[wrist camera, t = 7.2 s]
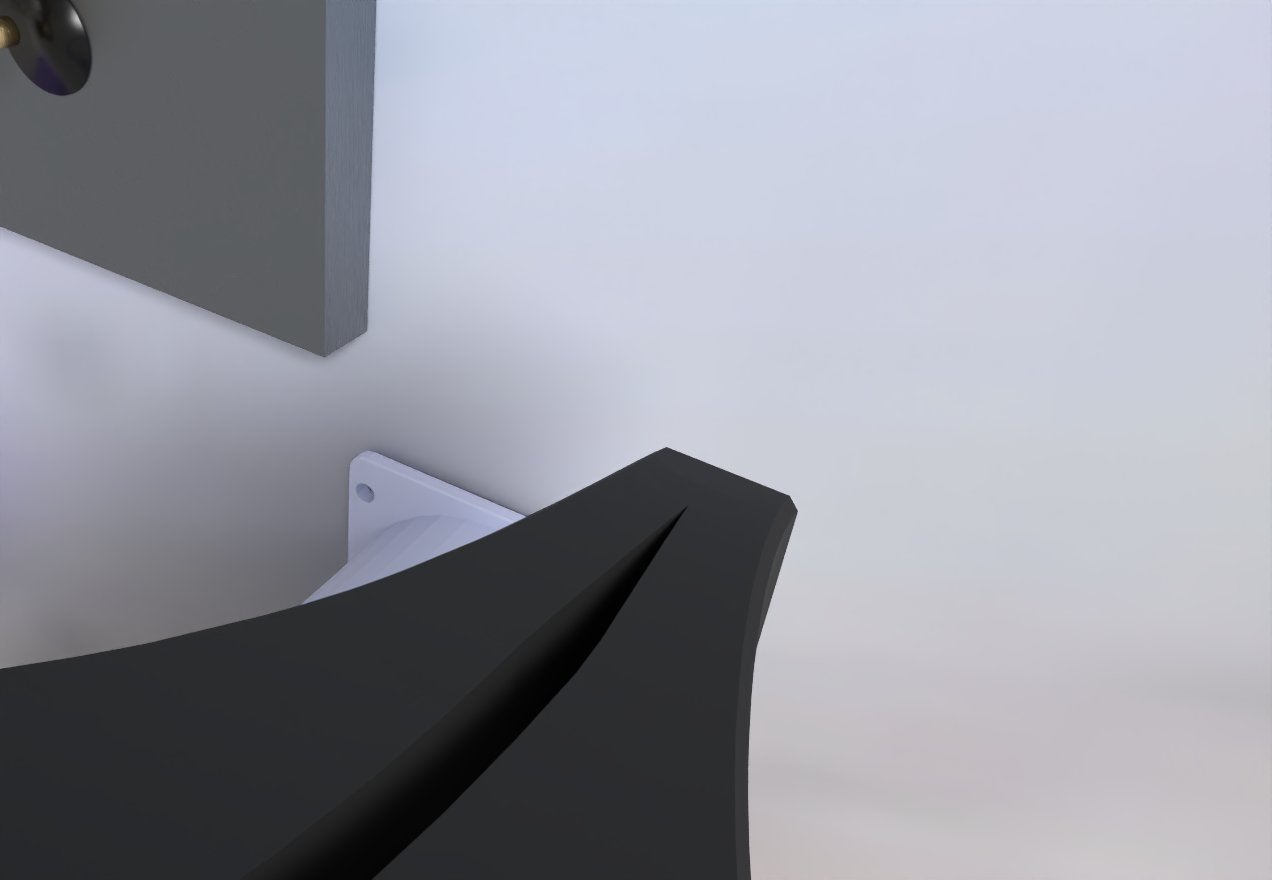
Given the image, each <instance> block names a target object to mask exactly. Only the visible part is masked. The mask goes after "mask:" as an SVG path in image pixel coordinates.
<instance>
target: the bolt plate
mask: <svg viewBox="0 0 1272 880" xmlns="http://www.w3.org/2000/svg"><path fill="white" fill-rule="evenodd" d="M3 15H6V16H8V17H10V18H11V19H12V20H13V21H14V22H15V23H16V25H17V26H18V29H19V32H20V42H19V44H18V45H17V46H13V47H9V48H4V49H0V226H1V227H3V228H6V229H8V230H11V231H13V232H16V233H18V234H21V235H23V236H26V237H28V238H31V239H33V240H36V241H38V242H40V243H43V244H45V245H48V246H50V247H53V248H55V249H58V250H60V251H63V252H65V253H68V254H70V255H73V256H75V257H78V258H80V259H83V260H85V261H88V262H90V263H92V264H95V265H97V266H100V267H102V268H105V269H107V270H110V271H112V272H115V273H117V274H120V275H122V276H125V277H127V278H130V279H132V280H135V281H137V282H139V283H142V284H144V285H147V286H149V287H152V288H154V289H157V290H159V291H162V292H164V293H167V294H169V295H172V296H174V297H177V298H179V299H182V300H184V301H186V302H189V303H191V304H194V305H196V306H199V307H201V308H204V309H206V310H209V311H211V312H214V313H216V314H219V315H221V316H224V317H226V318H229V319H231V320H234V321H236V322H238V323H241V324H243V325H246V326H248V327H251V328H253V329H256V330H258V331H261V332H263V333H266V334H268V335H271V336H273V337H276V338H278V339H281V340H283V341H285V342H288V343H290V344H293V345H295V346H298V347H300V348H303V349H305V350H308V351H310V352H313V353H315V354H318V355H320V356H323V357H326V356H327V355H329V354H331V353H332V352H334V351H335V350H337V349H339V348H340V347H342V346H343V345H345V344H347V343H348V342H350V341H351V340H353V339H355V338H356V337H358V336H359V335H361V334H363V333H364V332H366V331H367V307H368V271H369V235H370V199H371V163H372V127H373V91H374V55H375V19H376V0H0V16H3Z"/></svg>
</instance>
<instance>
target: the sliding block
mask: <svg viewBox="0 0 1272 880" xmlns="http://www.w3.org/2000/svg"><path fill="white" fill-rule="evenodd" d="M19 42H20V32H19V29H18V26H17V25H16V23H15V22H14V21H13V20H12V19H11V18H10V17H8V16H6V15H3V16H0V49H4V48H9V47H13V46H17V45H18V44H19Z"/></svg>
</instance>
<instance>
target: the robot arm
mask: <svg viewBox="0 0 1272 880" xmlns="http://www.w3.org/2000/svg"><path fill="white" fill-rule="evenodd" d="M367 486H369V487H370V488H371V489H372V491H373V492H372V491H370V490H369V488H368V487H367ZM797 512H798V510H797V509H796V507H795V505H794V503H793V501H792V499H791V497H790V496H789V495H786V494H784V493H781V492H779V491H776V490H773V489H771V488H768V487H766V486H763V485H761V484H758V483H756V482H753V481H751V480H748V479H746V478H743V477H741V476H738V475H736V474H733V473H730V472H728V471H725V470H723V469H720V468H718V467H715V466H713V465H710V464H708V463H705V462H703V461H700V460H698V459H695V458H693V457H690V456H688V455H685V454H682V453H680V452H677V451H675V450H672V449H670V448H667V447H666V448H663V449H661V450H659V451H656V452H654V453H652V454H650V455H648V456H646V457H644V458H642V459H640V460H638V461H636V462H634V463H632V464H630V465H628V466H626V467H624V468H623V469H621V470H619V471H617V472H615V473H613V474H611V475H609V476H607V477H605V478H603V479H601V480H599V481H598V482H596V483H594V484H592V485H590V486H588V487H586V488H584V489H582V490H580V491H578V492H576V493H574V494H572V495H570V496H568V497H566V498H564V499H562V500H560V501H558V502H556V503H554V504H552V505H550V506H548V507H546V508H544V509H542V510H540V511H537V512H535V513H533V514H531V515H529V516H527V517H526V516H524V515H521V514H519V513H516V512H514V511H512V510H509V509H507V508H505V507H502V506H500V505H498V504H495V503H493V502H491V501H488V500H486V499H484V498H481V497H479V496H476V495H474V494H472V493H469V492H467V491H465V490H462V489H460V488H458V487H455V486H453V485H451V484H448V483H446V482H444V481H441V480H439V479H437V478H434V477H432V476H429V475H427V474H425V473H422V472H420V471H418V470H415V469H413V468H411V467H408V466H406V465H404V464H401V463H399V462H397V461H394V460H392V459H390V458H387V457H385V456H382V455H380V454H378V453H375V452H371V451H365V452H362V453H361V454H359V455H358V456H357V457H355V458H354V459H353V460H352V461H351V463H350V467H349V512H348V563H347V564H346V565H345V566H344V567H343V568H341V569H340V570H339V571H338V572H337V573H336V574H335V575H334V576H332V577H331V578H330V579H329V580H328V581H327V582H326V583H324V584H323V585H322V586H321V587H320V588H319V589H318V590H316V591H315V592H314V593H313V594H312V595H311V596H310V597H309V598H307V599H306V600H305V601H304V602H303V603H302V604H301V605H299V606H296V607H293V608H289V609H286V610H282V611H279V612H275V613H271V614H268V615H264V616H260V617H256V618H251V619H247V620H243V621H239V622H235V623H231V624H227V625H222V626H218V627H214V628H210V629H206V630H202V631H197V632H193V633H189V634H185V635H181V636H177V637H173V638H168V639H164V640H160V641H156V642H152V643H147V644H142V645H137V646H132V647H127V648H121V649H116V650H111V651H105V652H100V653H94V654H89V655H84V656H78V657H73V658H67V659H60V660H54V661H48V662H41V663H35V664H29V665H22V666H16V667H10V668H3V669H0V880H751V871H750V853H749V819H748V754H749V729H750V711H751V694H752V683H753V672H754V662H755V655H756V648H757V645H758V641H759V638H760V635H761V631H762V628H763V625H764V621H765V618H766V615H767V612H768V608H769V605H770V602H771V598H772V595H773V592H774V588H775V585H776V582H777V579H778V575H779V572H780V569H781V565H782V562H783V559H784V555H785V552H786V549H787V545H788V542H789V539H790V536H791V532H792V529H793V526H794V522H795V519H796V516H797Z"/></svg>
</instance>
